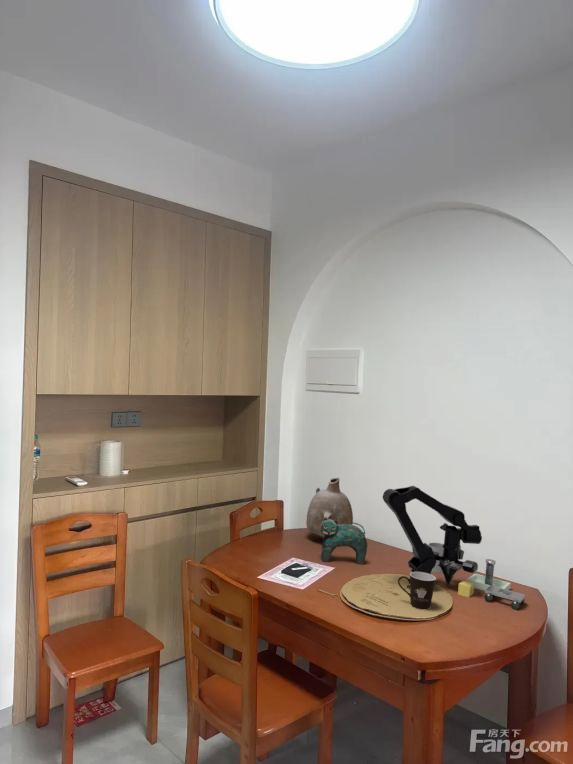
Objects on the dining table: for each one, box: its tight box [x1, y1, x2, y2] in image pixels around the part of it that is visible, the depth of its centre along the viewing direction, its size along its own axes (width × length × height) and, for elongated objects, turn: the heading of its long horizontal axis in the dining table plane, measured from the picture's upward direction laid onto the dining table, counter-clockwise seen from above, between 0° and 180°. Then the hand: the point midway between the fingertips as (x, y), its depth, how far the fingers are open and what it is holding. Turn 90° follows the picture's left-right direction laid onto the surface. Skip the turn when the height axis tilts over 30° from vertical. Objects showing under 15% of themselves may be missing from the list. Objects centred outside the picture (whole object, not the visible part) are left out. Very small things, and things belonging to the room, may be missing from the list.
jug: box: [305, 477, 354, 540], centre depth 256 cm, size 24×21×30 cm
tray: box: [465, 573, 512, 594], centre depth 210 cm, size 11×14×2 cm
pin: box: [484, 558, 496, 585], centre depth 210 cm, size 4×4×10 cm
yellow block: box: [457, 580, 475, 598], centre depth 200 cm, size 5×4×4 cm
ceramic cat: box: [320, 513, 368, 565], centre depth 226 cm, size 20×6×20 cm, turn 92°
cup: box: [428, 542, 449, 574], centre depth 227 cm, size 8×8×10 cm
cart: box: [484, 585, 526, 611], centre depth 196 cm, size 12×9×4 cm
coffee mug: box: [397, 571, 437, 610], centre depth 186 cm, size 12×9×10 cm
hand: (448, 584), depth 204 cm, fingers closed
